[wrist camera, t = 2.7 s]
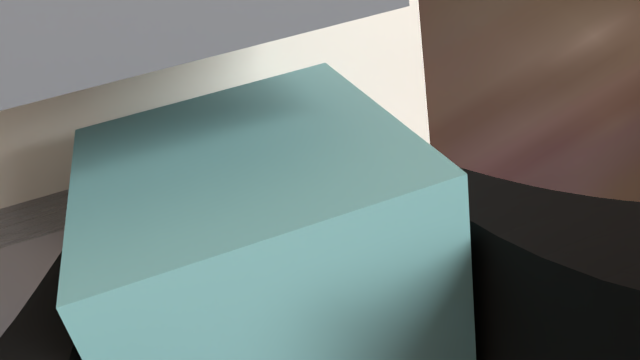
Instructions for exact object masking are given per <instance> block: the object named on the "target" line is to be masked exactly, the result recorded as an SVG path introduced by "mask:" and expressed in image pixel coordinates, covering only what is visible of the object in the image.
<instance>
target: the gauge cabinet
mask: <svg viewBox="0 0 640 360" xmlns="http://www.w3.org/2000/svg"><path fill="white" fill-rule="evenodd" d="M408 6H409V0H0V111H2V110H5V109H9V108H13V107H17V106H21V105H25V104H29V103H33V102H37V101H41V100H44V99H48V98H52V97H56V96H60V95H64V94H68V93H72V92H76V91H80V90H84V89H87V88H91V87H95V86H99V85H103V84H107V83H111V82H115V81H119V80H123V79H126V78H130V77H134V76H138V75H142V74H146V73H150V72H154V71H158V70H162V69H166V68H169V67H173V66H177V65H181V64H185V63H189V62H193V61H197V60H201V59H205V58H208V57H212V56H216V55H220V54H224V53H228V52H232V51H236V50H240V49H244V48H248V47H251V46H255V45H259V44H263V43H267V42H271V41H275V40H279V39H283V38H287V37H290V36H294V35H298V34H302V33H306V32H310V31H314V30H318V29H322V28H326V27H330V26H333V25H337V24H341V23H345V22H349V21H353V20H357V19H361V18H365V17H369V16H372V15H376V14H380V13H384V12H388V11H392V10H396V9H400V8H404V7H408Z"/></svg>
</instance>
